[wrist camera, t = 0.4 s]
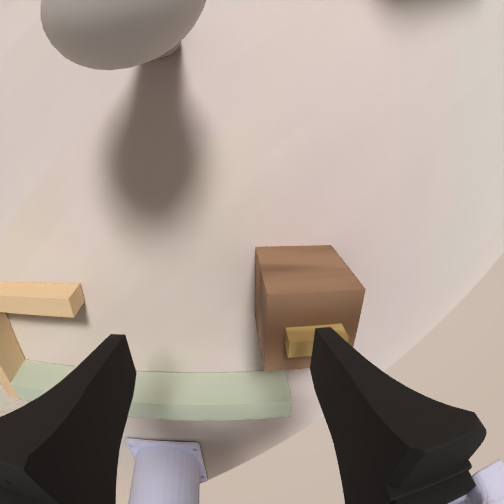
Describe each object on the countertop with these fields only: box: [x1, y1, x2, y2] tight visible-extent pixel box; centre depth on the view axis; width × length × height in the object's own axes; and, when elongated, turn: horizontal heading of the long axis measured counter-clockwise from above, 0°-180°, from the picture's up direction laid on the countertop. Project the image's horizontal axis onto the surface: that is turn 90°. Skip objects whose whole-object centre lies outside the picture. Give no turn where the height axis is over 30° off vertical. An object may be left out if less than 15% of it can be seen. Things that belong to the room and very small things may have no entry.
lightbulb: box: [41, 0, 206, 70], centre depth 10 cm, size 6×6×11 cm
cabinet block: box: [255, 245, 365, 371], centre depth 18 cm, size 5×5×7 cm
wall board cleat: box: [0, 282, 292, 421], centre depth 21 cm, size 10×26×4 cm, turn 90°
